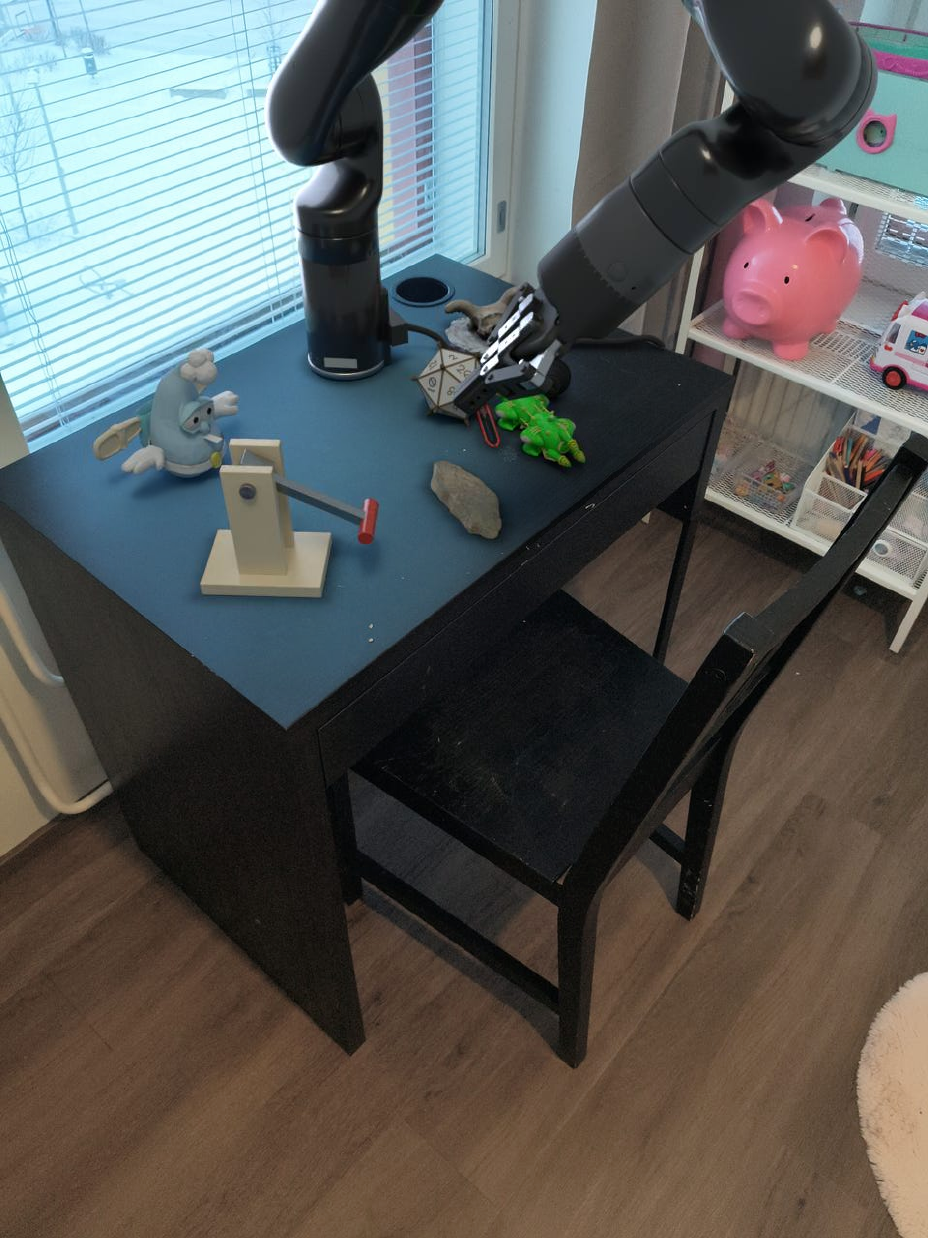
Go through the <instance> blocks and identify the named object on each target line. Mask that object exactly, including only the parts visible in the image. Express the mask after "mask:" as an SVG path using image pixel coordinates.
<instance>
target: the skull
mask: <svg viewBox="0 0 928 1238" xmlns="http://www.w3.org/2000/svg"><path fill="white" fill-rule="evenodd" d="M521 285H522V284H519V285H515V286H512V287H510V288H508V289H507V290H506V291H504V292H503V294H502V295H501V297H500V299H498V300H497V301H495V302H494V303H490V304H488V305H482V306H478V305H475V304H474V303H472V302H470V301H468V300H465V299H454V300H451V301H449V302H448V303H447V304H446V305H445V306H444V313H445V314H446V315H452V314H453V315H454V314H455V313H458V314H460V313H462V315H464V317H458V318H457V319H454V320H452V321H451V322H450V323H449V324H450V326H449V327H448V328H445V329H444V330H443V332H444V334H445V336H446V339H447V340H448V342H449V346H450V347H451V348H453V349H456V350H459V351H463V352H470V353H472V354H473V353H474V354H476V353H477V352H479V351H481V356H479V357H482V356H483V354H484V353H485V352H486V351H487V350H488V349H489V348H490V347H489V346H487V345H486V342H487V340H488V338H489V336H490V335H491V333H492V332H493V330H494V328H495V327H496V325H497V324H498V322H499V320H500V319H501V317H502V316H503V314H504V312H505V311H506V309H507V307H508V306H509V304H510V303H511V301H512V299H513V298H514V296H515V295H516V293H517V291H518V290H519V288H520V286H521ZM473 356H475V355H473Z"/></svg>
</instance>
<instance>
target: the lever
mask: <svg viewBox="0 0 928 1238" xmlns="http://www.w3.org/2000/svg"><path fill="white" fill-rule="evenodd" d="M274 465H275V462H274V461H271V460H269V459H267V458H264V457H262V456H260V455H257V454H255V453H253V452H250V451H248V450H246V449H245V450H244V452H243V455H242V457H241V459H240V461H239V463H238V466H271V467H273V468H274ZM274 477H275V484H276V490H277V491H278V492H280V493H282V494H285V495H287V496H288V497H290V498H291V499H294V500H297V501H299V502H302V503H303V504H306V505H309V506H311V507H313V508H315V509H319V510H321V511H323V512H325V513H327V514H330V515H333V516H335V517H337V518H340V519H342V520H344V521H346V522H349V523H351V524H354V525H356V526H358V532H357V540H358V542H359V543H360V544H362V545H366V546H367V545H368V546H369V545H371V544H372V543H374V541H375V535H376V526H377V521H378V514H379V507H380V503H379V502H378V500H376V499H375V498H366V499H365V500H364V501H363V503H362V508H358V507H356V506H353V505H351V504H348V503H346V502H343V501H342V500H340V499H337V498H335V497H332V496H330V495H328V494H325V493H323V492H320V491H318V490H316V489H313V488H312V487H309V486H306V485H304V484H302V483H299V482H297V481H295V480H293V479H290V478H288V477H286V478H285V477H283V476H281V475H278V474H276V473H274Z"/></svg>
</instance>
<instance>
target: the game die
mask: <svg viewBox="0 0 928 1238" xmlns="http://www.w3.org/2000/svg"><path fill="white" fill-rule="evenodd" d="M436 346H437V348H438V350H437V351H436V352H435V354H434V355H433V356H432V358H431V359H430V360H429V361H428V363H427V365H426V366H425V367H424V368H423V370H422V371H421V372H420V374H419V375H418V376H417V377H416V376H410V377H409V380H410V381H411V382H417V384H418V386H419V388H420V391H421V393H422V395H423V397H424V398H425V402H426V404H427V406H428V408H429V409H428V410H426V416H431V415H432V414H434V413H438V414H443V415H445V416H448V417H453V418H457V419H460V420H464V421H463V423H464V425H465V426H467V427H469V426H470V421H469V419H468V418H469V417H470V415H468V414H466V413H464V412H463V411H462V410H460V409H459V408H457V407H456V406H455V405H454V404H453V395H454V389H455V388H456V387H457V386H458V385H459V384H460V383H461V382H462V381H463V380H464V379H465V378H466V377H467V376H469V375H470V374H471V373H472V372H473V371H474V370H475V369H476V368H477V367H478V366H479V365H480V364H481V363H480V362H479V359H477V358H478V357H479V356H481V351H479V352H477V353H476V354H475V356H473V355H469V354H465V353H461V352H456V351H452V350H448V349H444V348H442V345H441V343H440V342H439V341H437V342H436Z"/></svg>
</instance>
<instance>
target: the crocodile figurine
mask: <svg viewBox="0 0 928 1238" xmlns="http://www.w3.org/2000/svg"><path fill="white" fill-rule="evenodd" d="M495 396H498V397H497V398H498V400H499V401H502V402H500V403H499V404H497V405H496V407H495V408H494V413H495V414H496V416H497V417H499V419H498V422H497V425H498V426H499V428H501V429H504V430H507V431H514V429H515V428H516V427H517V426H519V425H520V426H519V428H520V429H521V430H522V431H521V432H520V434H519V439H520V440H521V441H522V442H523V443H524V444H523V445H522V451H523V452H524V453H525V454H527V455H530V456H533V457H539V455H540V454H541V453H543V454H542V455H543V457H544V458H545V459H546V460H550V461H553V462H557V463H558V465H560V466H562V467H567V468H568V467H572V465H571V461H569V459H568V458H567V457H566V456H565V454H566V453H567V452H568V453H569V454H570V455H572V456H573V458H574V459H575V460H576V461H578V462H580V463H586V458H585V455H584V452H583V450H582V451H581V450H580V448H579V445H578V443H577V440H576V439H574V438H573V435H574V432H575V430H576V429H577V427H576V424H575V423H574V422H573V421H572V420H571V419H569V418H565V417H564V418H558V416H557V415H554V413H555V411H554V410H551V411H549V410H547V409H548V405H549V404H550V400H549V397H546V396H544V395H543V394H541V395H536V396H531V397H526V398H521V399H516V400H511V401H508V400H507V399H506V398H504V397H503V396H502V395H500V394H499V393H496V394H495ZM524 428H525V429H524Z"/></svg>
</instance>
